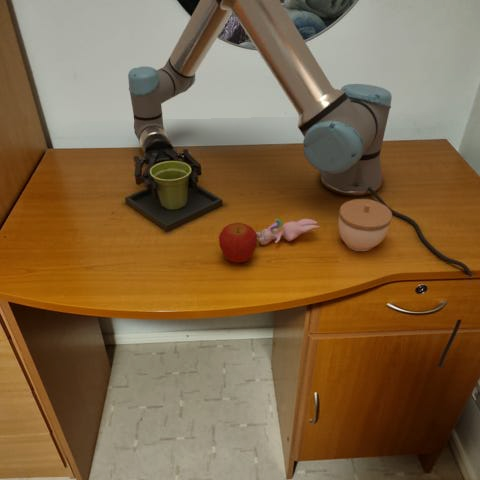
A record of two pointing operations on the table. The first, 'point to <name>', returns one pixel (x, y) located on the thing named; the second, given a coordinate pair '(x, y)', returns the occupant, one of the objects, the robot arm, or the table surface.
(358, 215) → the trinket box
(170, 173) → the plant pot
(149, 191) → the drip tray
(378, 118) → the robot arm
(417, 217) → the table surface
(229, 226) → the apple
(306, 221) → the pink toy figurine
